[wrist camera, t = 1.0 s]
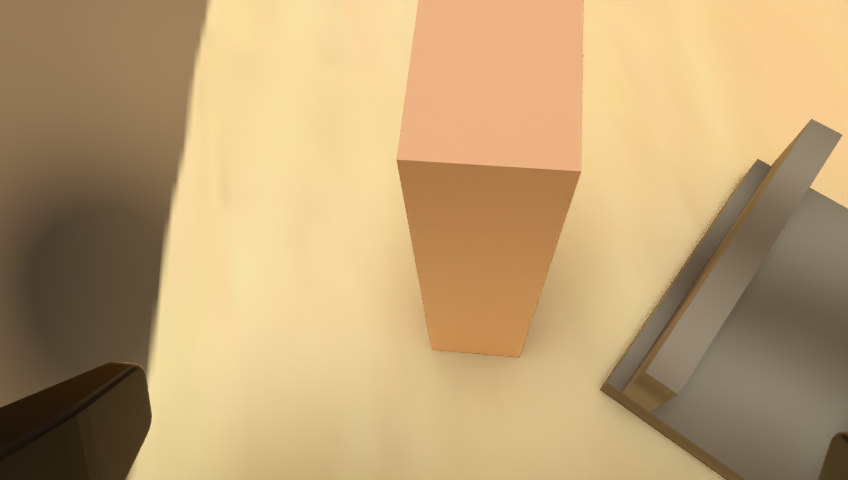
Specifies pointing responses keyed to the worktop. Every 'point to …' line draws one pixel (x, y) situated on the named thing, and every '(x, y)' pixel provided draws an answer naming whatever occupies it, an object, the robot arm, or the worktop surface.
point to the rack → (753, 329)
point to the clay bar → (489, 161)
